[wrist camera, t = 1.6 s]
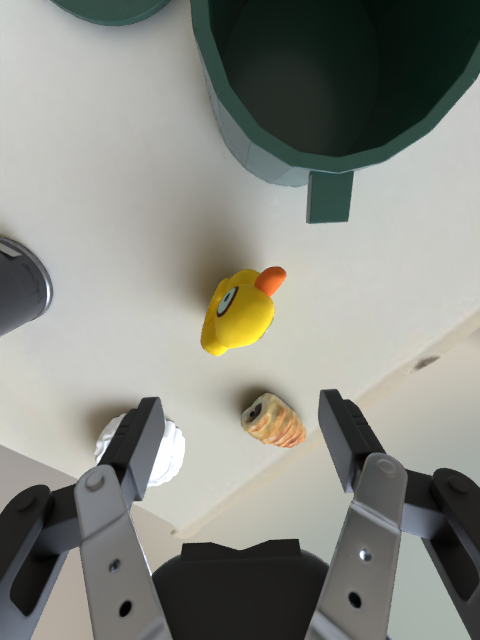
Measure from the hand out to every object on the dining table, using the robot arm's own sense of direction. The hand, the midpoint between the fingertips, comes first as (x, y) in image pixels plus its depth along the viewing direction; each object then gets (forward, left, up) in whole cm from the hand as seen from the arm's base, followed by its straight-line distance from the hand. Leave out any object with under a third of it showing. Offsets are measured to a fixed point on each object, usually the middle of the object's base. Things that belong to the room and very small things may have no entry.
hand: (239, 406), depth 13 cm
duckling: (0, 0, -18) cm, 18 cm away
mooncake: (-15, -22, -18) cm, 32 cm away
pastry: (+4, -18, -18) cm, 26 cm away
